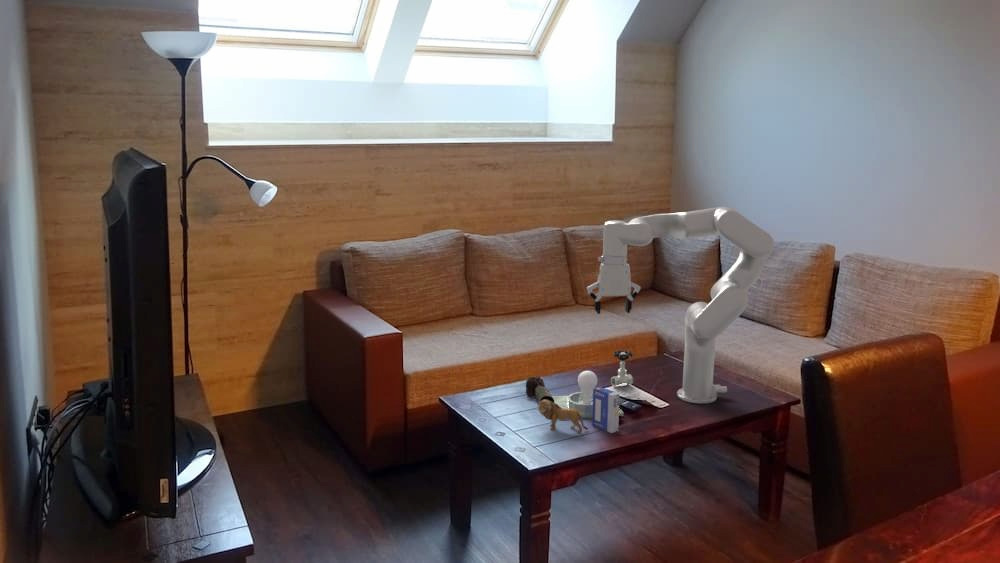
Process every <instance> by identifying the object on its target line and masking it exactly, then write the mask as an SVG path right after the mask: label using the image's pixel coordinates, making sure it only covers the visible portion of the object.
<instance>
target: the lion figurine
mask: <svg viewBox="0 0 1000 563" xmlns="http://www.w3.org/2000/svg"><path fill="white" fill-rule="evenodd" d="M538 403H539V404H538V412H539V413H540V415H541V416H543V417H544V418H545V419H546V420H550V421H551V422H550V423H551V424H549V427H550V429H549V430H551V431H555V430H556V429H557V428H556V427H557V424H556V423H557V421H562V422H563V421H567V420H570V421H571V423H572V425H570V427H569V428H570V429H572V430H573V429H575V428H576V427H577V428H578V430H577V431H576V432H577V434H582V433H583V430H589V428H588V427H586V426H585V424H584V420H583V418H582V417H581V414H580V413H579V412H578V411H577V410H576V409H573V408H571V409H563V408H561V407H559V406H558V405H557V404H555V403H553V402H552V401H550V400H546V399H545V400H542V401H541V402H539V401H538ZM578 416H579V418H578ZM580 423H581V424H580ZM582 428H583V429H582Z"/></svg>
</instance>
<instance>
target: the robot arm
mask: <svg viewBox="0 0 1000 563" xmlns="http://www.w3.org/2000/svg"><path fill="white" fill-rule="evenodd" d="M719 235H720V236H722V237H723V238H724V239H726V240H727V241H728V242H729V243H731V244H732V245H733V246H735V247H737V248H738V249H739V255H738V257H737V259H736V261H735V262H734V264H732V266H730V268H729V269H727V271H725V273H724V274H723V275H722V276H721V277H719V279H718V280H717V281H716V282H715V283H714V284H713V285H712V287H711V289H710V297H711V301H709V303H707V302H704V301H697V302H694V303H692V304H690V305H689V307H688V308H687V310H686V312H685V314H684V353H683V355H684V356H683V370H682V371H683V373H682V387H681V388H679V389H678V390H677V392H676V396H677V397H678V398H679V400H681V401H684V402H688V403H691V404H692V403H693V404H699V405H700V404H701V405H702V404H710V403H713V402H716V401H717V399H718V395H717V394H718V393H727V392H728V387H727V386H726V385H725V386H722V385H721V384H715V383H714V371H715V354H716V339H717V338H718V337H720V336H721V335H722V334H723V333H724V332H725V331H726V330H727V329H728V328H730V326H731V325H732V324H733V323H734V322H735V321H736V320H737V319H738V318H739V317H740V316H741V315H742V313H744V311H745V310H746V308H747V306H748V302H749V296H748V293H747V291H748V290H749V289H751V287H752V286H753V284H754V283H755V282H756V281H757V280H758V279H759V278H760V276H761V275H762V274H763V272H764V269H765V266H766V262H767V257H769V256H770V255H771V254H772V253H773V251H774V249H775V241H774V238H773V237H772V236H771V234H770V233H768V232H767V231H766V230H764V229H763V228H761V227H760V226H758V225H756V223H755V224H754V223H753V222H752V221H751V220H749V219H748V218H746V217H745V216H744V215H742V214H741V213H740V212H739V211H737V210H735V209H734V208H731V207H729V206H717V207H710V208H705V209H704V208H703V209H696V210H690V211H683V212H674V213H659V214H652V215H644V216H638V217H635V218H633V219H631V220H630V221H628V222H627V221H623V220H613V219H612V220H608V221H605V222H604V225H603V235H602V236H603V237H602V238H603V240H602V243H603V244H602V255H601V256H598V257H597V259H598V260H597V261H598V262H601V263H600V266H599V270H598V276H597V281H596V282H594V283H592V284H590V285H587V286H586V291H587V292H588V294H589V295H588V296H590V297H591V298H592V299H593V300H594V311H595V313H597V314H598V315H599V314H601V301H600V300H601V299H602V298H603V297H626V299H625V309H624V310H625V312H626V313H628V314H630V313H631V310H632V305H633V304H632V303H633V301H634V299H635V298H636V297H637V296H638V294H639V293H640V290H642V287H641V286H640V285H639V284H637V283H634V282H633V281H632V280H631V278H632V277H631V267H630V264H629V263H627V262H628V245H629V246H637V247H644V246H647V245H650V243H652V242H653V239H655V238H674V239H675V238H676V239H679V240H692V239H697V238H704V237H710V236H711V237H712V236H719ZM632 288H634V290H633V291H632ZM595 289H596V291H597V292H596V294H595V293H594V292H593V290H595Z"/></svg>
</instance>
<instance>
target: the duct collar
mask: <svg viewBox="0 0 1000 563" xmlns="http://www.w3.org/2000/svg"><path fill="white" fill-rule="evenodd" d="M551 396H552V397H553V399H554V401H555V404H557V405H558V406H559V407H561V408H563V409H571V408H573V409H576V410H577V411H578V412H579V413H580V414H581V417H582V419H592V415H593V404H587V405H586V404H585V403H583V396H582V391H576V392H573V393H572V392H571V393H570V394H569V395H551ZM591 399H593V393H592V397H591ZM620 408H621V407H620ZM620 408H619V409H620ZM624 414H625V413H624V411H623V410H622V408H621V409H620V410H619V416H622V417H623V416H624ZM622 417H621V418H622ZM623 418H624V417H623ZM578 419H580V418H579V416H578Z"/></svg>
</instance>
